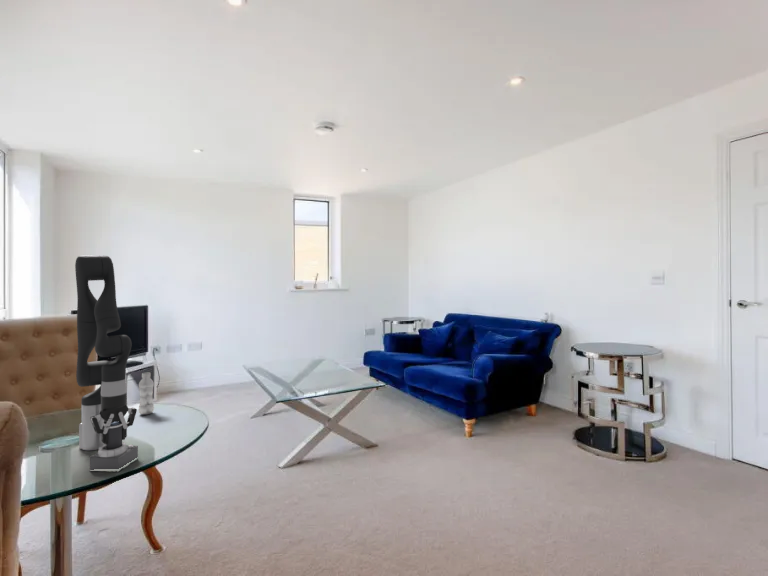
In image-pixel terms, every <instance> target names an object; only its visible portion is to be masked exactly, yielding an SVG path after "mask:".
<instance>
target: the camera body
mask: <svg viewBox="0 0 768 576" xmlns="http://www.w3.org/2000/svg"><path fill="white" fill-rule="evenodd" d="M138 446H139V445H133V444H128V445H127V443H126V442H123V441H122V446H121V447H119V448H116V449H107V448H106V445H103V446H102V447H100V448H99V449H97V450H98V451H97V452H96V453H94V454H93V455H91V456H89V471H90V470H94V469H119V468H121V467H123V466H124V465H126V464H127V463H129V462H131V461H132V460H134V459H135V458H137V457H138V458H139V447H138Z"/></svg>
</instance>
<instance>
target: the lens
mask: <svg viewBox="0 0 768 576" xmlns="http://www.w3.org/2000/svg"><path fill="white" fill-rule="evenodd" d="M107 433H108V444H106V448H107V449H116V448H119V447H121V446H122V442H123V440H122V423H121V422H119V421H118V422H113V423H111V425H110V427H109V429H108V432H107Z"/></svg>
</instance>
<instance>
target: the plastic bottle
mask: <svg viewBox="0 0 768 576" xmlns="http://www.w3.org/2000/svg"><path fill="white" fill-rule="evenodd" d="M154 385H155V383H154V381H153V379H152V378H151V372H148V371H147V372H142V373H141V379H140V381H139V383H138V389H139V390H138V391H139V406H138V413H139V414H140V415H141V416H142V415H143V416H144V415H150V414H153V412H154V410H155V405H154V398H153V394H154V393H153V391H154Z"/></svg>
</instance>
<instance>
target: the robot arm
mask: <svg viewBox="0 0 768 576" xmlns="http://www.w3.org/2000/svg"><path fill="white" fill-rule="evenodd" d="M74 267H75V268H74V269H75V282H76V295H77V297H76V298H77V305H76V306H77V308H76V309H77V310H76V332H77V333H76V335H77V355H76V356H77V358H76V374H75V375H76V378H75V379H76V383H77V385H78V386H79V387H80V388H81V387H90V386H91V387H92V386H93V387H94V386H99V385H100V386H99V387H98V388H96V389H95V390H93V391H91V392H89V393H87V394H85V395H83V396H82V397H81V400H80V401H81V402H80V403H81V423H79V424H78V426H79V427H78V439H79V440H78V444H79V445H78V448H79V449H80V450H83V451H96V450H99V448H100V447H102V446H103V445H106V444H108V433H107V432H108V429H109V427H110V425H111V423H113V422H121V423H122V441H124V440H125V439H126V438H127V436H128V432H127V431H128V428H130V427H132V426H133V424H134V422H135V419H136V414H137V411H138V409H137V408H135V407H128V382H127V370H126V369H127V363H128V360H129V356H130V353H131V350H132V346H133V345H132V344H133V343H132V339H131V337H129V336H128V335H127V334H118V335H108V334H109V333H112V332H116V331H118V330H120V328H121V326H122V323H121V322H122V321H121V318H120V314H119V310H118V305H117V295H116V294H117V293H116V280H115V277H116V276H115V268H114V263H113V260H112V258H111V257H110V256H108V255H91V254H90V255H88V254H87V255H84V254H83V255H78V256H77V257H76V259H75V264H74ZM89 281H92V282H94V281H103V283H104V286H103V290H102V292H101V294H100V296H99V297H98V298H96V297H95V296H94V294H93V292H92V291H91V289H90V285H89ZM93 350H94V351H95V353H96V355H98V357H101V358H107V357H108V358H109V357H115V359H114V360H112V361H109V360H98V361H97V360H95V361H88V360H89V358H90V355H91V353H92V352H93ZM127 413H128V418H127V421H126V419H125V416H126V415H127Z"/></svg>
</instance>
